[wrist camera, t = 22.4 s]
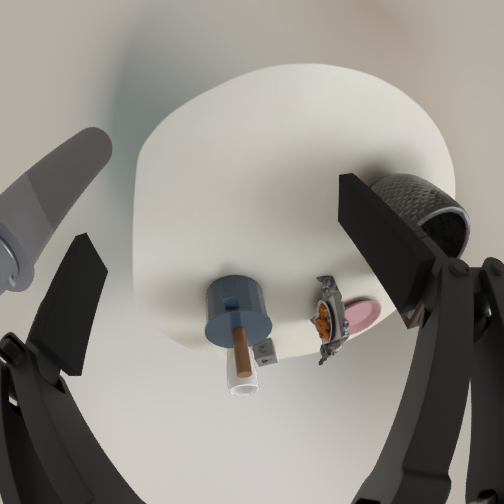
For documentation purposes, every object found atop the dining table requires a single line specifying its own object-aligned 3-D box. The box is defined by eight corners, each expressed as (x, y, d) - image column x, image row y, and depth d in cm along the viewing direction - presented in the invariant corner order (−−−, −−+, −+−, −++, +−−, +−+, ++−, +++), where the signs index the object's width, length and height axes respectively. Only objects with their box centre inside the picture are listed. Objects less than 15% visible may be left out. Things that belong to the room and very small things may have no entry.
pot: (216, 322, 60) (218, 354, 54) (196, 271, 49) (195, 306, 43) (265, 314, 61) (271, 345, 54) (256, 259, 50) (264, 294, 43)
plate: (360, 329, 73) (363, 334, 71) (320, 330, 69) (322, 336, 67) (387, 296, 64) (390, 302, 63) (345, 294, 60) (348, 301, 59)
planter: (414, 224, 49) (457, 275, 37) (344, 248, 51) (379, 311, 39) (418, 149, 38) (480, 193, 26) (335, 169, 40) (387, 225, 28)
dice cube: (252, 342, 68) (254, 359, 64) (270, 338, 68) (274, 354, 64) (256, 351, 71) (259, 366, 67) (274, 346, 71) (277, 362, 67)
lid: (213, 347, 53) (216, 392, 45) (196, 312, 45) (197, 364, 37) (273, 337, 53) (282, 381, 45) (268, 299, 45) (280, 351, 37)
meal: (313, 277, 55) (334, 328, 45) (332, 274, 55) (355, 324, 45) (304, 320, 64) (318, 366, 55) (320, 317, 65) (336, 362, 55)
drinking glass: (237, 324, 62) (245, 382, 50) (255, 334, 65) (265, 388, 54) (217, 336, 64) (221, 391, 52) (235, 345, 68) (242, 397, 56)
